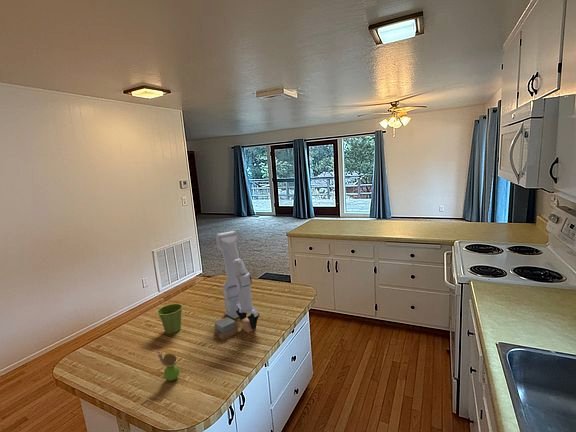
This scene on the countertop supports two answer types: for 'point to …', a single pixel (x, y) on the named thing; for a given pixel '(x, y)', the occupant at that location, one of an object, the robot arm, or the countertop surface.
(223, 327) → the top slab
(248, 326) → the terracotta block
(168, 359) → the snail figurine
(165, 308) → the plant pot
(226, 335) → the base slab
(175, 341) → the countertop surface
